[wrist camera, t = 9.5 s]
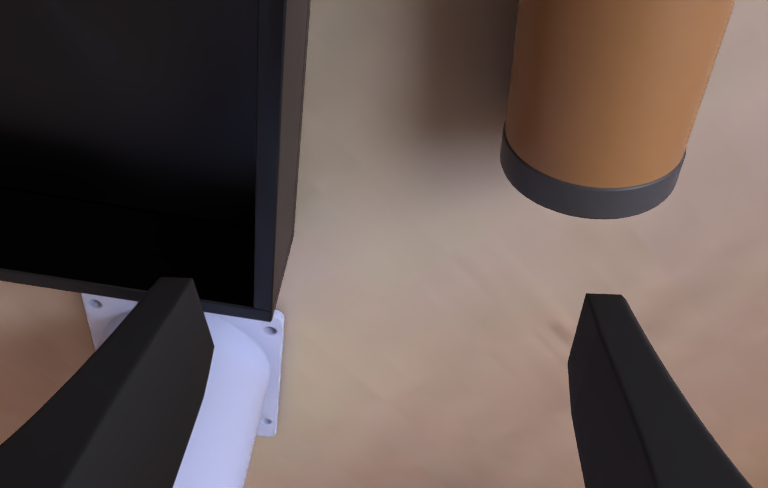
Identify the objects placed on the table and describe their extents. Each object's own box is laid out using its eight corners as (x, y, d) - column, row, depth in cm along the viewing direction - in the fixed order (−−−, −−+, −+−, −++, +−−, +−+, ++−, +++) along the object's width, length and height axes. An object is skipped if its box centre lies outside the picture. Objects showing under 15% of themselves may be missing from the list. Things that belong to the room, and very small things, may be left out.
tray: (293, 236, 24) (271, 323, 22) (-111, 171, 24) (-188, 252, 21) (337, -363, 13) (302, -347, 10) (-433, -517, 12) (-698, -545, 10)
